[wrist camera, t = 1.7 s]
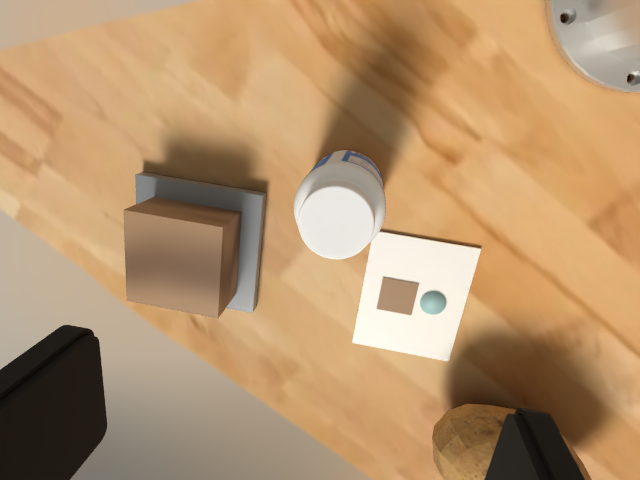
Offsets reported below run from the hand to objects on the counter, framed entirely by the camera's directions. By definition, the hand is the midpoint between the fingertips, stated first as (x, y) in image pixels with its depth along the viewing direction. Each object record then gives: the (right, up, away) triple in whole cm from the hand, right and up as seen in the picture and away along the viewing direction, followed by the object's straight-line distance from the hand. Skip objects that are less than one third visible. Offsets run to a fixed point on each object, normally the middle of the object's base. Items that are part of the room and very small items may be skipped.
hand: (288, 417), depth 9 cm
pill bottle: (+3, +8, +21) cm, 23 cm away
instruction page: (+8, -1, +23) cm, 24 cm away
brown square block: (-9, +4, +23) cm, 25 cm away
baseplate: (-9, +4, +24) cm, 26 cm away
